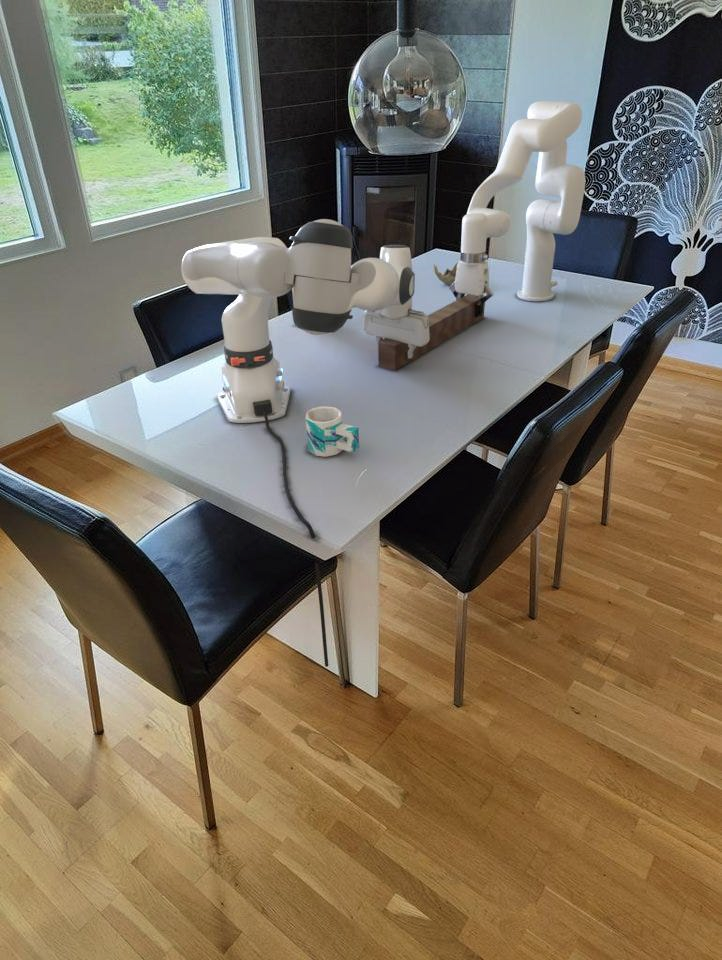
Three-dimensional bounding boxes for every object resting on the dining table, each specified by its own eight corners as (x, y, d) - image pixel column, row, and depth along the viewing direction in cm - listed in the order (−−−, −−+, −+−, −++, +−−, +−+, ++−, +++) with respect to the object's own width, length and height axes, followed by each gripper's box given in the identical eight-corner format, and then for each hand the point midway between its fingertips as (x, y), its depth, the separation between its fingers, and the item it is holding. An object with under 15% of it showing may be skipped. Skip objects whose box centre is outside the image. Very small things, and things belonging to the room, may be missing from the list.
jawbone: (424, 270, 248) (439, 245, 244) (454, 288, 255) (469, 265, 252) (433, 277, 241) (449, 253, 237) (463, 297, 248) (480, 273, 245)
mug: (322, 435, 155) (320, 402, 150) (366, 448, 149) (365, 414, 145) (301, 451, 149) (297, 417, 145) (345, 465, 144) (343, 430, 139)
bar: (394, 370, 185) (394, 345, 181) (378, 366, 188) (378, 341, 184) (483, 318, 218) (485, 295, 214) (468, 314, 221) (470, 293, 217)
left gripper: (434, 309, 177) (433, 358, 184) (372, 296, 188) (373, 343, 195) (421, 316, 173) (420, 366, 180) (359, 302, 184) (360, 350, 191)
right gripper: (504, 257, 203) (499, 315, 213) (454, 250, 212) (452, 306, 222) (492, 263, 198) (487, 322, 208) (442, 256, 207) (440, 312, 217)
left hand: (395, 354), depth 188 cm, fingers open, 7 cm apart
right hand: (469, 313), depth 215 cm, fingers closed on bar, 5 cm apart
